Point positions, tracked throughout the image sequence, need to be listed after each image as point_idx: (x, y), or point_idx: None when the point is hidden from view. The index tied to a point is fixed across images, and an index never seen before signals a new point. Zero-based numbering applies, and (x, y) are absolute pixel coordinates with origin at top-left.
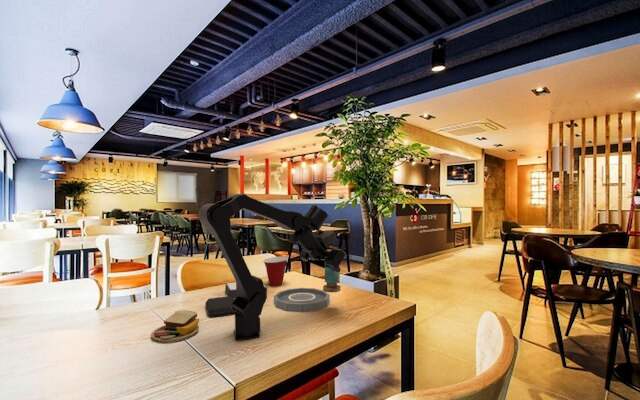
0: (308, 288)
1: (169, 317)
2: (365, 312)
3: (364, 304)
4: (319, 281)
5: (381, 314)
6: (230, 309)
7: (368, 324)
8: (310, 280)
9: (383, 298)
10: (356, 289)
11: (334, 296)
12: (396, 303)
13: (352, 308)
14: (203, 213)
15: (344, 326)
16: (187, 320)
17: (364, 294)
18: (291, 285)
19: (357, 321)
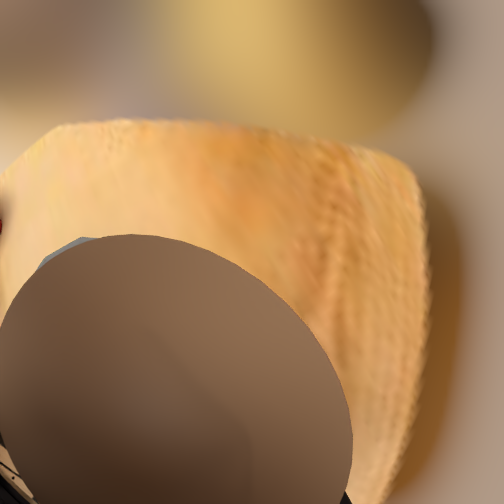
0: (64, 250)
1: None
2: (360, 315)
3: (311, 239)
4: (74, 136)
5: (407, 298)
6: (34, 500)
7: (413, 401)
8: (52, 145)
9: (326, 154)
10: (201, 124)
11: (163, 221)
12: (383, 178)
13: (298, 307)
14: None
15: (360, 463)
16: None
17: (250, 149)
18: (18, 211)
19: (377, 406)
